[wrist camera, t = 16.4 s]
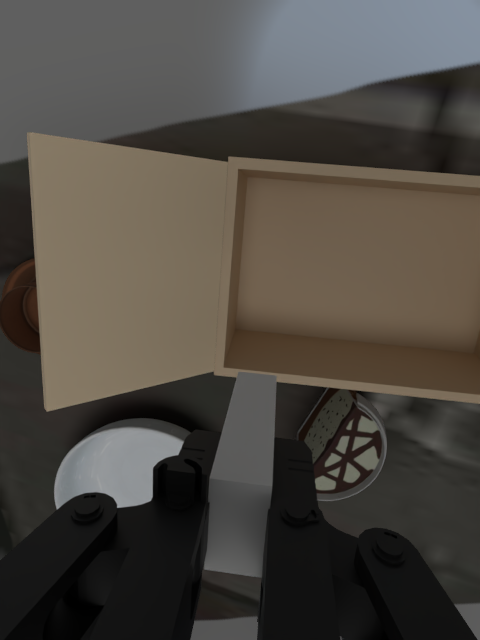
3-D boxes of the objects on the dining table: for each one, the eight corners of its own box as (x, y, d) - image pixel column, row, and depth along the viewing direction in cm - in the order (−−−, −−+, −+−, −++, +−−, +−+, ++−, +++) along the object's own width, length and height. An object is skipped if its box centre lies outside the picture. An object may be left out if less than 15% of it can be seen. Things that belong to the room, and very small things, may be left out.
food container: (333, 464, 51) (346, 524, 42) (290, 442, 51) (294, 497, 41) (389, 386, 48) (418, 432, 38) (343, 361, 47) (361, 402, 38)
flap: (46, 411, 27) (44, 407, 28) (214, 371, 36) (210, 368, 36) (29, 132, 22) (27, 133, 23) (227, 161, 31) (223, 162, 31)
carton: (475, 358, 46) (542, 410, 34) (228, 332, 47) (213, 374, 36) (519, 190, 41) (615, 186, 29) (241, 168, 42) (228, 156, 31)
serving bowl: (131, 553, 58) (113, 598, 51) (50, 434, 54) (19, 466, 47) (263, 506, 54) (261, 548, 47) (188, 373, 49) (175, 399, 43)
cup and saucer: (7, 251, 47) (-32, 258, 41) (108, 258, 46) (84, 267, 40) (17, 348, 51) (-17, 368, 45) (111, 357, 50) (89, 378, 44)
